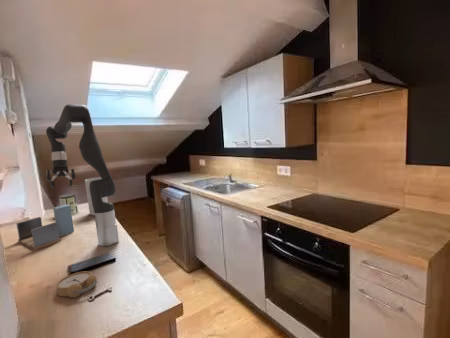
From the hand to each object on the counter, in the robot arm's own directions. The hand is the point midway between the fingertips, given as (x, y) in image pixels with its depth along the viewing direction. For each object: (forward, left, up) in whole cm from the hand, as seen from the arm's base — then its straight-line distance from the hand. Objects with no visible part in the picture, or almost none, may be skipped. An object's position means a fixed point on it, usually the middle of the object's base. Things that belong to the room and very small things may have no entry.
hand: (62, 186), depth 150 cm
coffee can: (+31, -16, -26) cm, 43 cm away
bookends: (-5, +17, -25) cm, 31 cm away
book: (-6, +4, -26) cm, 27 cm away
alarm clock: (-69, +29, -27) cm, 80 cm away
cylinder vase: (+12, -27, -26) cm, 40 cm away
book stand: (-5, +17, -26) cm, 32 cm away
